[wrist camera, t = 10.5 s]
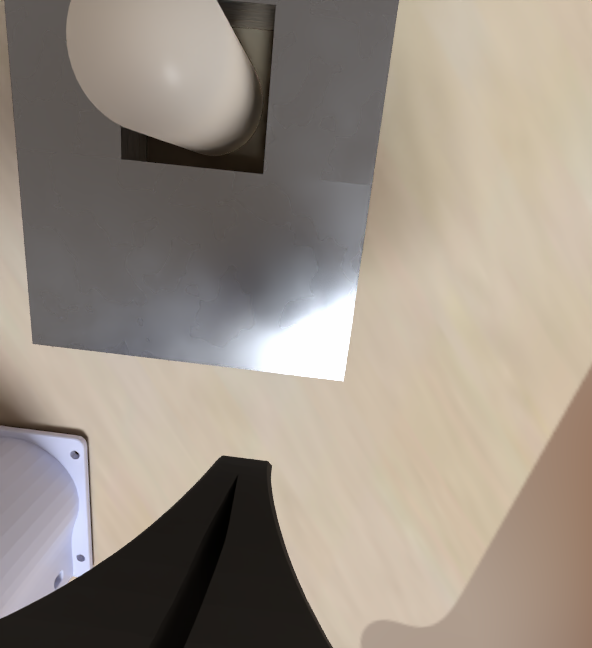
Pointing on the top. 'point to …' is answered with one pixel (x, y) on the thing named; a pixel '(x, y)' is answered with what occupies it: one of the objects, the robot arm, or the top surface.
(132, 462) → the top surface
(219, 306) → the plate
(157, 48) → the white rounded cylinder
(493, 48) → the top surface
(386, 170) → the top surface
